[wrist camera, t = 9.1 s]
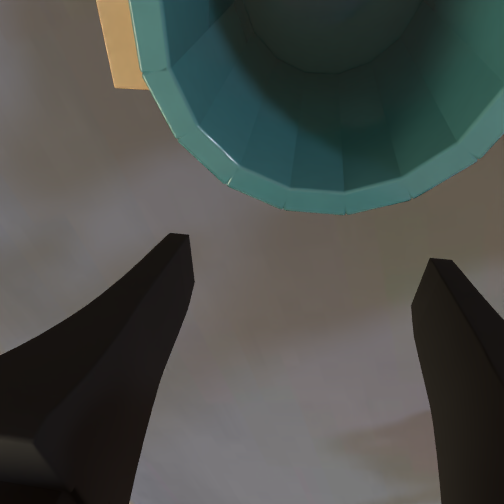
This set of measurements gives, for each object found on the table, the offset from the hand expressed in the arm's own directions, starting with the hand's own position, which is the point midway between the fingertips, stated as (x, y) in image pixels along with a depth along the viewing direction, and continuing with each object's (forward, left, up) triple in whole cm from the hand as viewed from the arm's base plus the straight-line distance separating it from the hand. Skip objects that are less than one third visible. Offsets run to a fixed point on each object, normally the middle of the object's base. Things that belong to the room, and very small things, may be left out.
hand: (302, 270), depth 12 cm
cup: (0, -7, -3) cm, 8 cm away
